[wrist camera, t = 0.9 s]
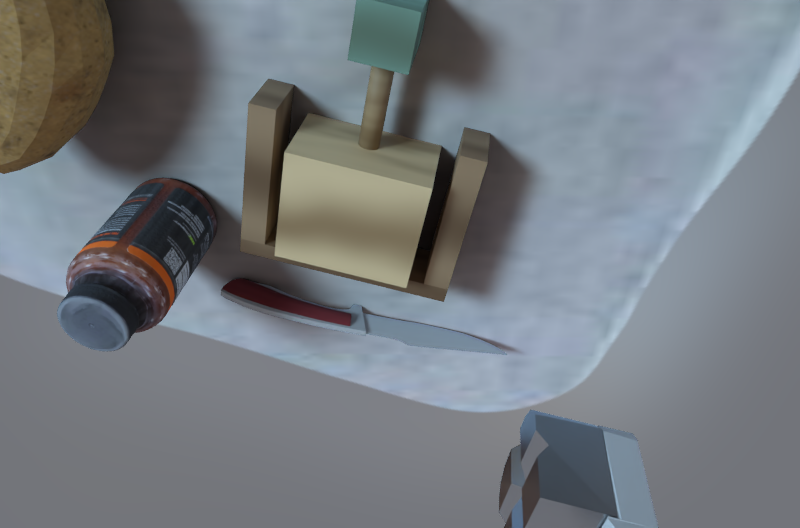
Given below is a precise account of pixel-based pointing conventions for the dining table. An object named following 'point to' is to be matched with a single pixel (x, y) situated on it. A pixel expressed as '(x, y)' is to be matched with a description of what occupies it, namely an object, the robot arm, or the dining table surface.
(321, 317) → the knife
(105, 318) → the supplement bottle
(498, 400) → the dining table surface
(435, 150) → the oak block with dowel handle
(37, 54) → the potato
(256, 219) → the tan piece
